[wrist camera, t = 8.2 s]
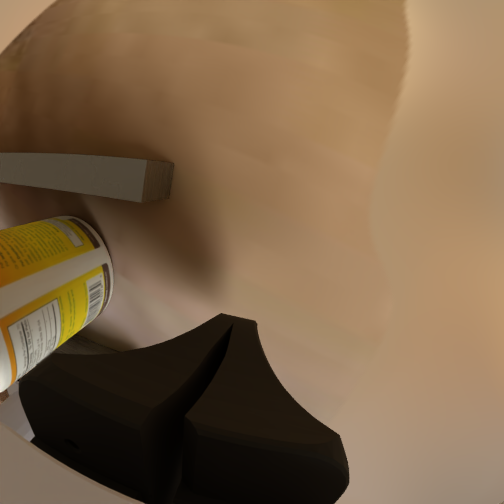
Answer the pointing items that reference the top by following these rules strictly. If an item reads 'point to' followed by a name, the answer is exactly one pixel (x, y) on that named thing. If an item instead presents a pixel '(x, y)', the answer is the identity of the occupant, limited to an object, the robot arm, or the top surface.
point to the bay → (88, 192)
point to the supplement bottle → (48, 289)
